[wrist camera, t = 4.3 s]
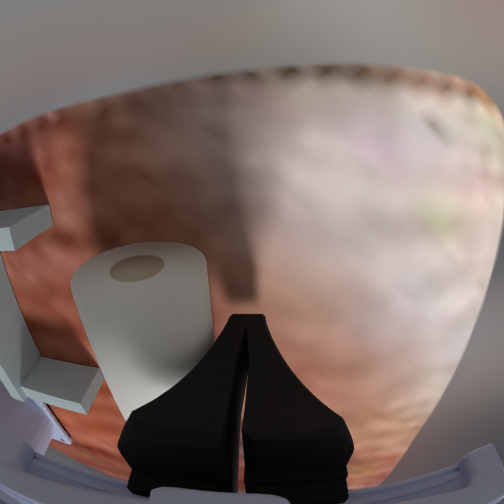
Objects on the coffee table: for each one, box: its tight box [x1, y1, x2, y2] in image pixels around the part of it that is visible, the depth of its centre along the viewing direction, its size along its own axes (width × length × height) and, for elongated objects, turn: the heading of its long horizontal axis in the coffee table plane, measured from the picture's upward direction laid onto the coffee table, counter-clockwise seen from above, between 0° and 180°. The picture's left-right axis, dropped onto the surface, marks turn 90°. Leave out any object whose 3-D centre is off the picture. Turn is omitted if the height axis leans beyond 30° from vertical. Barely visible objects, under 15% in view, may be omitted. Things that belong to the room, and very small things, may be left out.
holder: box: [0, 205, 104, 414], centre depth 13 cm, size 6×11×4 cm, turn 1°
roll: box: [71, 242, 215, 421], centre depth 12 cm, size 5×7×5 cm
